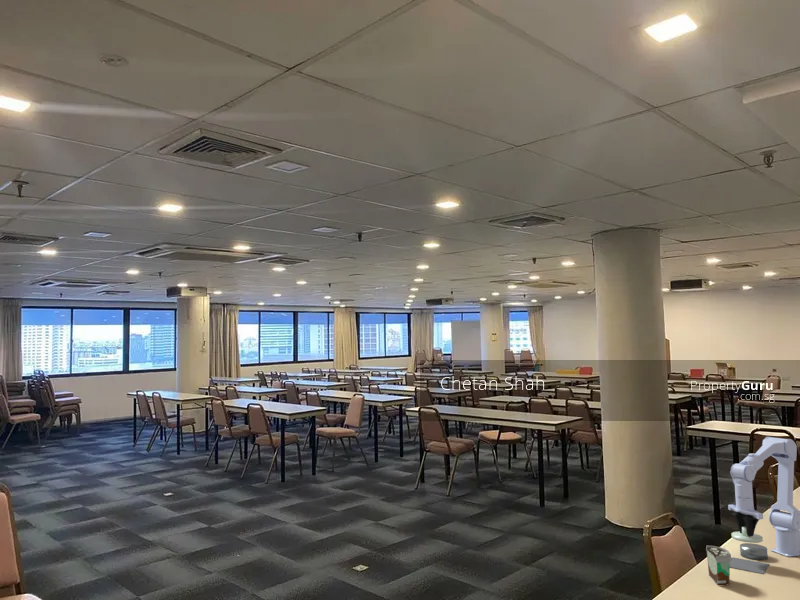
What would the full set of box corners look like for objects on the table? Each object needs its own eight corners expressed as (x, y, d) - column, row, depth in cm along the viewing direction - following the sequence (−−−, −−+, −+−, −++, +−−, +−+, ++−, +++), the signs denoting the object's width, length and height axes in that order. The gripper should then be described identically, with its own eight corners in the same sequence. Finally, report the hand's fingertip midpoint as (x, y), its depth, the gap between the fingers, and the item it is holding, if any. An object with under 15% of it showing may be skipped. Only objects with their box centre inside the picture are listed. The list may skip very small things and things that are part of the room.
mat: (732, 558, 225) (732, 557, 225) (769, 564, 217) (769, 563, 217) (725, 566, 216) (725, 566, 216) (763, 574, 208) (763, 573, 208)
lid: (746, 533, 226) (745, 522, 226) (769, 541, 216) (768, 529, 216) (725, 535, 223) (724, 524, 223) (747, 543, 213) (746, 532, 214)
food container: (739, 588, 196) (736, 557, 197) (718, 587, 197) (716, 556, 198) (726, 574, 208) (724, 545, 209) (707, 573, 209) (705, 544, 210)
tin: (754, 551, 232) (753, 542, 232) (773, 559, 223) (772, 549, 223) (735, 553, 230) (734, 544, 230) (753, 561, 221) (753, 551, 221)
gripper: (720, 493, 227) (722, 529, 226) (750, 502, 213) (753, 541, 212) (736, 492, 229) (738, 528, 227) (766, 500, 215) (769, 539, 213)
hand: (746, 534), depth 220 cm, fingers closed on lid, 3 cm apart
